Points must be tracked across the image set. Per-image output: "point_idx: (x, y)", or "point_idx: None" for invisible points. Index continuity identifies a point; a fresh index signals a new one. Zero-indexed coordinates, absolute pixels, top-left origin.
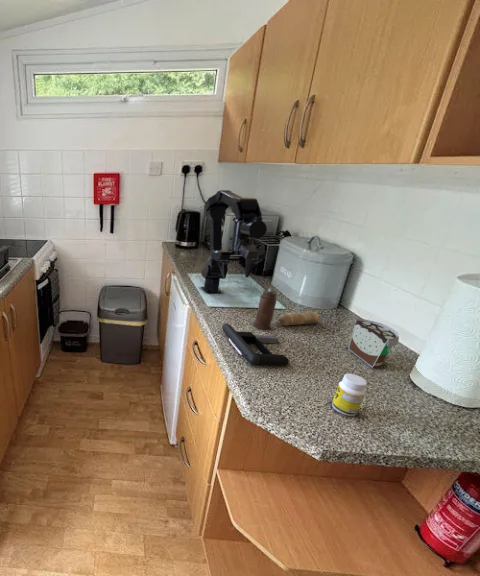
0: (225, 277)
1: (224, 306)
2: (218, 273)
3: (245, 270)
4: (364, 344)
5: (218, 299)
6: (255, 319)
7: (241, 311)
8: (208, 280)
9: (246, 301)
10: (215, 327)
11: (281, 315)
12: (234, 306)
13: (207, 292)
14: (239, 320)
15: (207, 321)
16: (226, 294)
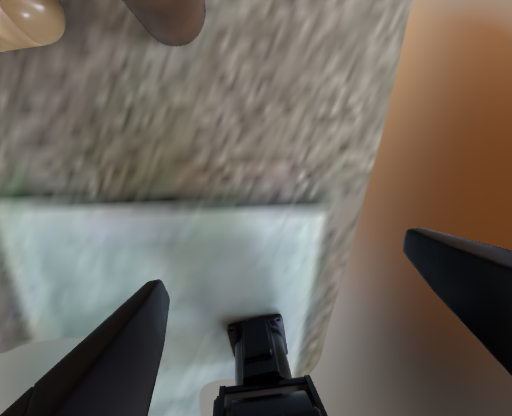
0: (420, 230)
1: (261, 212)
2: (269, 406)
3: (152, 380)
4: None
5: (259, 270)
6: (200, 3)
7: (209, 169)
8: (287, 371)
9: (153, 262)
10: (388, 4)
11: (27, 2)
12: (220, 214)
13: (281, 316)
14: (253, 77)
15: (392, 69)
16: (211, 313)
